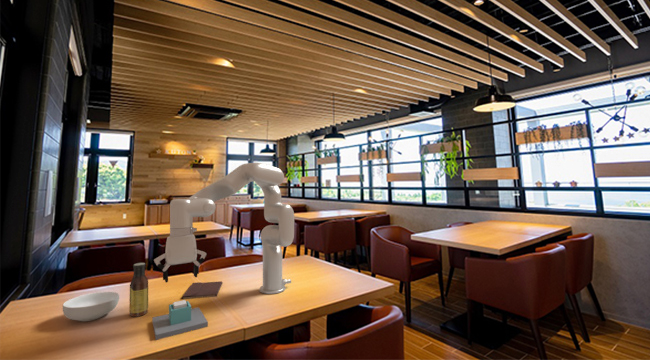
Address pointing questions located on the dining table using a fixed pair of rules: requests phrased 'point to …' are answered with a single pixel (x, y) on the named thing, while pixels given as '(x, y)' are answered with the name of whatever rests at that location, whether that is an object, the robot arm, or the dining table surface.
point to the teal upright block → (179, 314)
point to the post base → (166, 329)
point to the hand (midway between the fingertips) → (181, 278)
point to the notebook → (202, 290)
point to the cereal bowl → (90, 306)
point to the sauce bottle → (138, 291)
